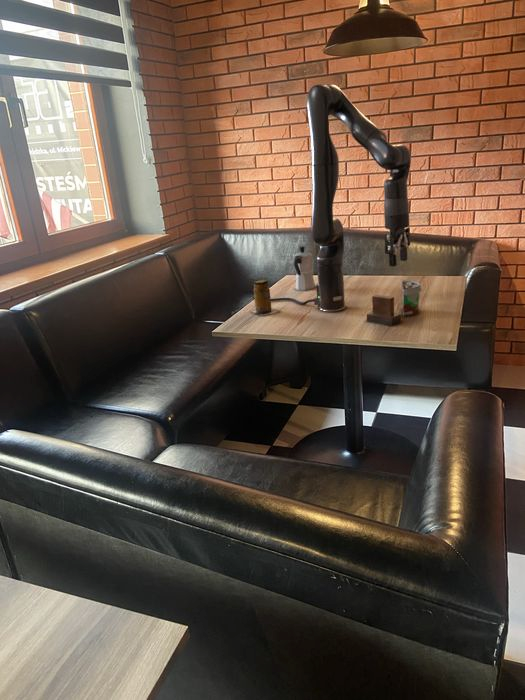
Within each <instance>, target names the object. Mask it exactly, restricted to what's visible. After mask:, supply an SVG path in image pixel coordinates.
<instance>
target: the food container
mask: <svg viewBox="0 0 525 700" xmlns="http://www.w3.org/2000/svg"><path fill="white" fill-rule="evenodd" d="M401 282H402V283H401V293H402V294H401V295H402V298H401V299H402V314H403V317H404V318H405V317H407V318H408V317H413V316H416V315H417V314H419V304H420V302H419V301H420V293H421V292H422V286H421V284H420V282H419V281H414V280H402V281H401Z"/></svg>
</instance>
